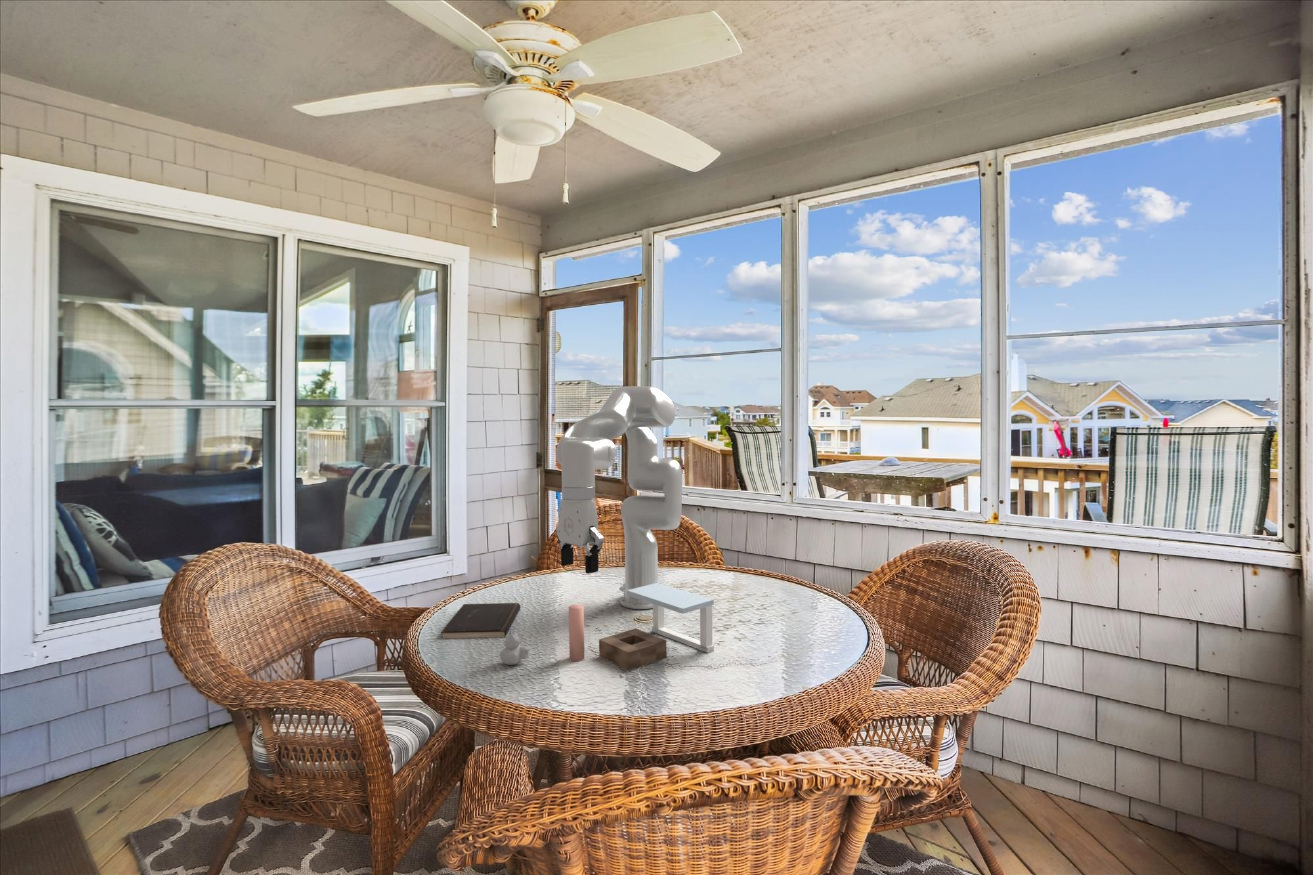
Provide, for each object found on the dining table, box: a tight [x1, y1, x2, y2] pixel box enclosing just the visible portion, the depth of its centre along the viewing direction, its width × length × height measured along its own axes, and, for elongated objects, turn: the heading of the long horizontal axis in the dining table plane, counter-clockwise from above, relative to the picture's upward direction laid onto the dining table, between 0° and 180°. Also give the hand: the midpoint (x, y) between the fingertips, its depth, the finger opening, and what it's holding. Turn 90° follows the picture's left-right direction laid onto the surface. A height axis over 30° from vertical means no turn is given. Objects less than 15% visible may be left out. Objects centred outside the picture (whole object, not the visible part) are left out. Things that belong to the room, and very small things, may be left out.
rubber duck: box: [499, 628, 530, 666], centre depth 148 cm, size 5×7×8 cm
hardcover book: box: [440, 602, 521, 639], centre depth 176 cm, size 16×23×2 cm
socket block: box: [598, 628, 668, 671], centre depth 151 cm, size 11×11×4 cm
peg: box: [568, 604, 585, 662], centre depth 150 cm, size 3×3×12 cm
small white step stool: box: [627, 582, 715, 654], centre depth 158 cm, size 20×10×12 cm, turn 41°
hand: (579, 568), depth 150 cm, fingers open, 9 cm apart
